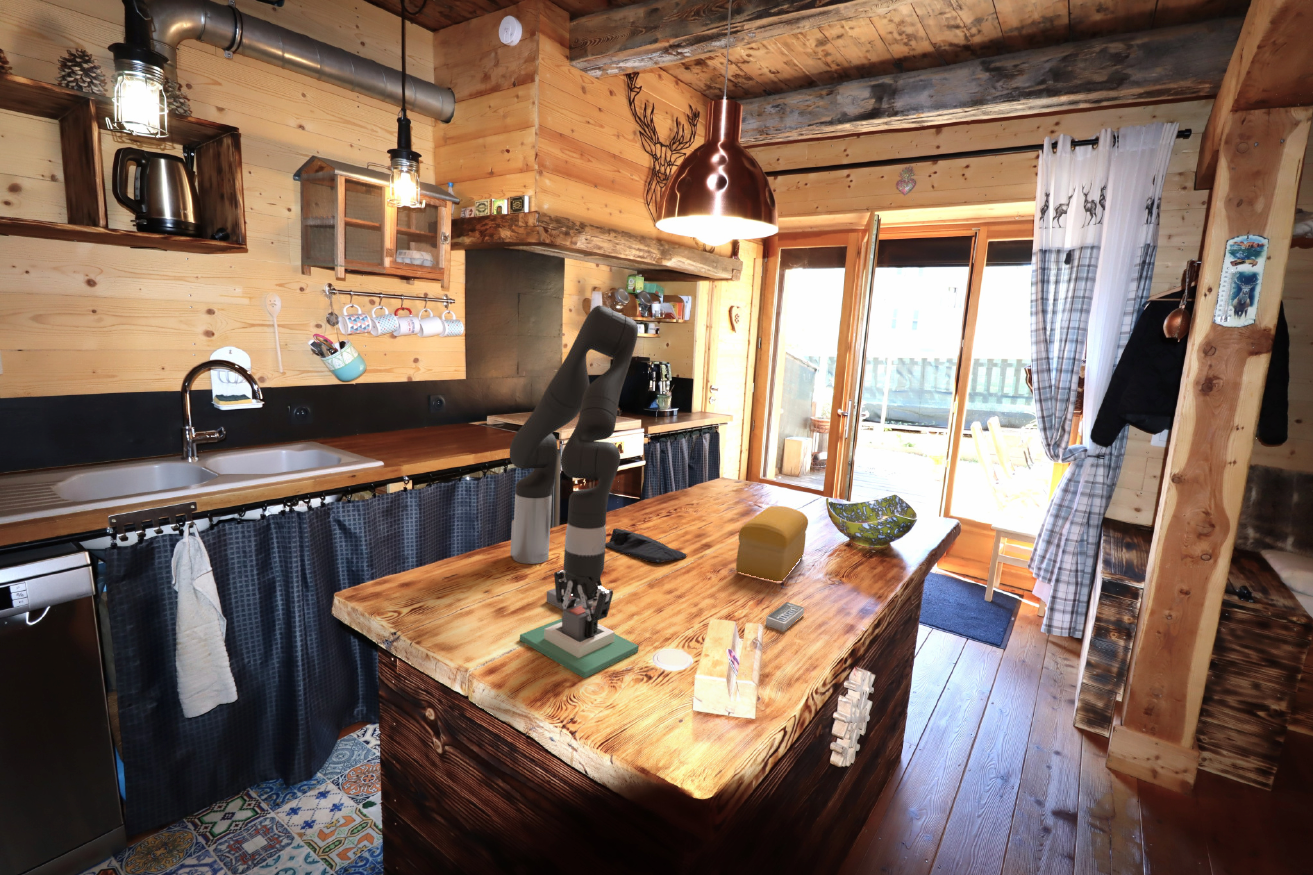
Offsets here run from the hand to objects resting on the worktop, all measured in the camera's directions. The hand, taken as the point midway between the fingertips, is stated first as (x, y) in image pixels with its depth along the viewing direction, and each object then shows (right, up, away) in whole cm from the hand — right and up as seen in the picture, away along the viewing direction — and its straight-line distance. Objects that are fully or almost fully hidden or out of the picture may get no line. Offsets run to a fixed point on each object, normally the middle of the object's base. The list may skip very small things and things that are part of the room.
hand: (579, 631), depth 119 cm
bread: (+46, +1, +53) cm, 70 cm away
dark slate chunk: (+11, +4, +56) cm, 57 cm away
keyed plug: (0, -2, 0) cm, 2 cm away
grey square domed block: (-4, 0, +19) cm, 19 cm away
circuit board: (0, -3, 0) cm, 3 cm away
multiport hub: (+43, -4, +19) cm, 47 cm away
